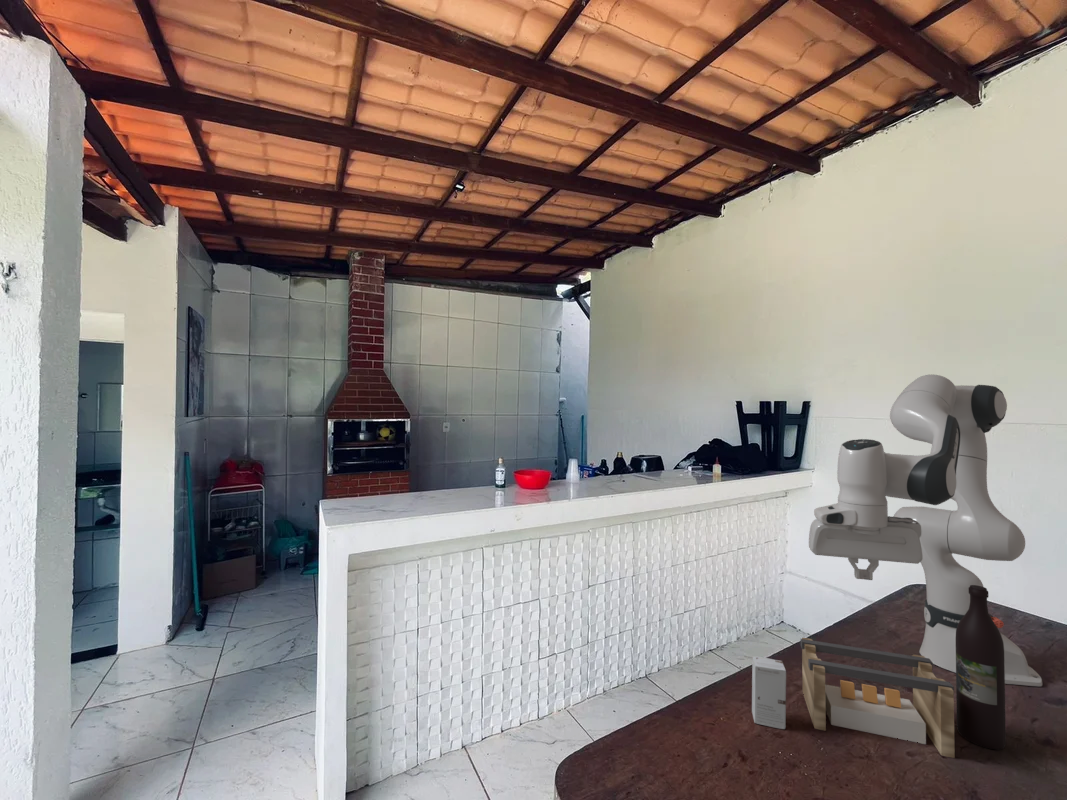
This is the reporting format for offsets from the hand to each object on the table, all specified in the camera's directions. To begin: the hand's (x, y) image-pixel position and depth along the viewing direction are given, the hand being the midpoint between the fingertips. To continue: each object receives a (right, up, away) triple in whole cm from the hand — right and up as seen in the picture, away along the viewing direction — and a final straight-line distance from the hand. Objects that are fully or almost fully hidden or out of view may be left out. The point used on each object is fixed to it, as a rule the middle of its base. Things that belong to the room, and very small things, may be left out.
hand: (863, 578), depth 101 cm
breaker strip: (-1, -29, -3) cm, 29 cm away
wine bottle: (+18, -29, -8) cm, 35 cm away
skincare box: (-22, -29, -2) cm, 37 cm away
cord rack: (-1, -29, -3) cm, 29 cm away
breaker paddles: (-1, -25, -3) cm, 25 cm away
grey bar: (-2, -18, -7) cm, 19 cm away
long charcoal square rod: (+1, -18, +1) cm, 18 cm away
